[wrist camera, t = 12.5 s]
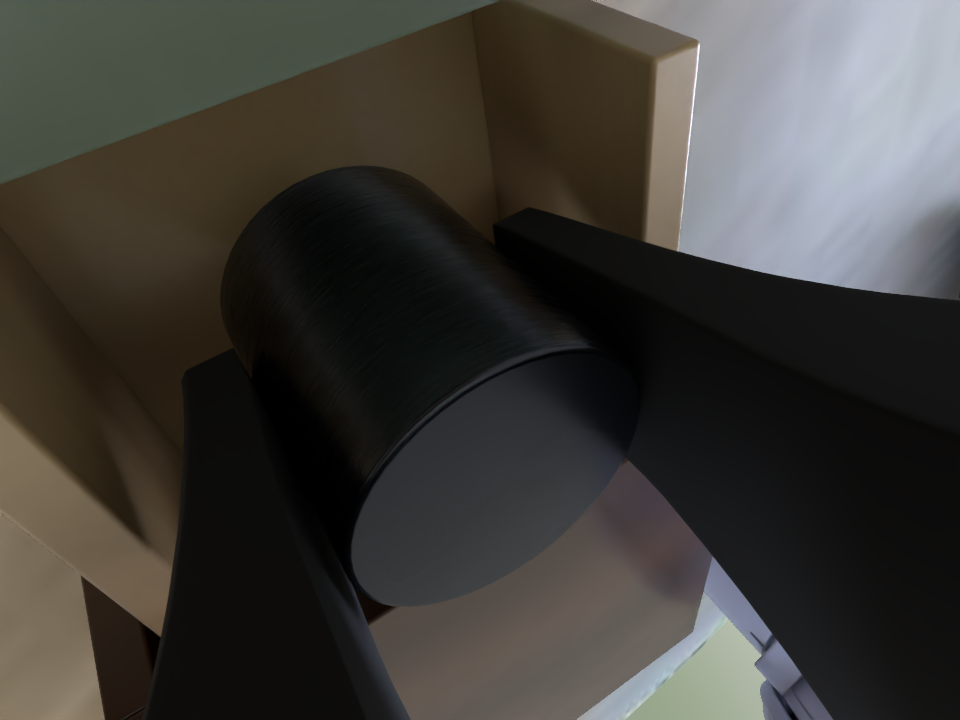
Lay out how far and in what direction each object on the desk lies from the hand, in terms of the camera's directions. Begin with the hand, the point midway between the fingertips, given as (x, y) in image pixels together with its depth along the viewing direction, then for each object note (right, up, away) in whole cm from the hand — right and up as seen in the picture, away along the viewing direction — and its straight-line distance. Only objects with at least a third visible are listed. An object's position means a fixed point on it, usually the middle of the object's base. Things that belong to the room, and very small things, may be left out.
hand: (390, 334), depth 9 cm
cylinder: (-1, +1, +1) cm, 1 cm away
